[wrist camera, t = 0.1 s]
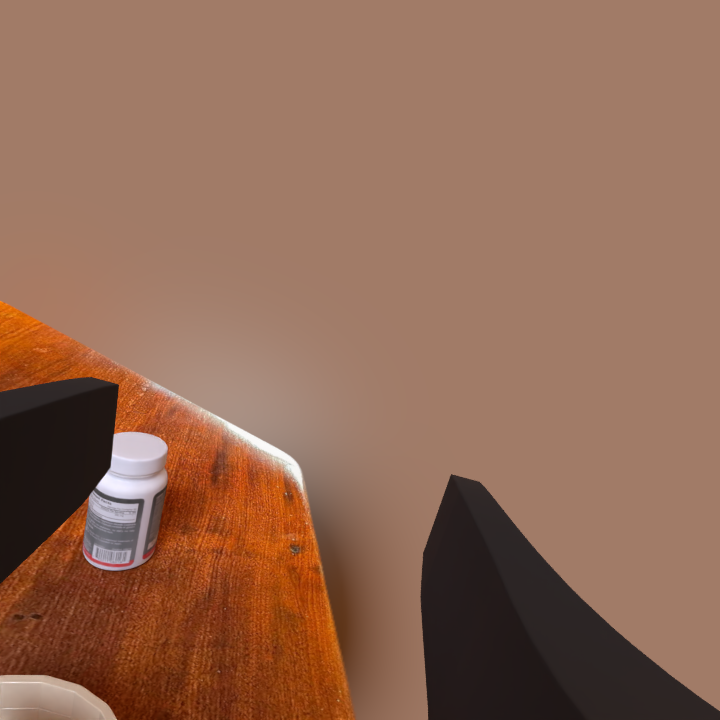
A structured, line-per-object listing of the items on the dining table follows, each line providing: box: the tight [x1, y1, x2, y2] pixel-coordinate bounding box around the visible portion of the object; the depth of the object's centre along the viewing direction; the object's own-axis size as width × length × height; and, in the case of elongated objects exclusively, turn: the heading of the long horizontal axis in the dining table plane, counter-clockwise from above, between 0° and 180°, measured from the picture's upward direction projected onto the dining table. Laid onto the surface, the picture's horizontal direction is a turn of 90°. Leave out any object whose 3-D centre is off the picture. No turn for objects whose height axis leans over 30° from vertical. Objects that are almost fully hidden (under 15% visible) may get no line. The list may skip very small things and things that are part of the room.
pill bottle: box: [83, 432, 168, 571], centre depth 35 cm, size 5×5×8 cm
